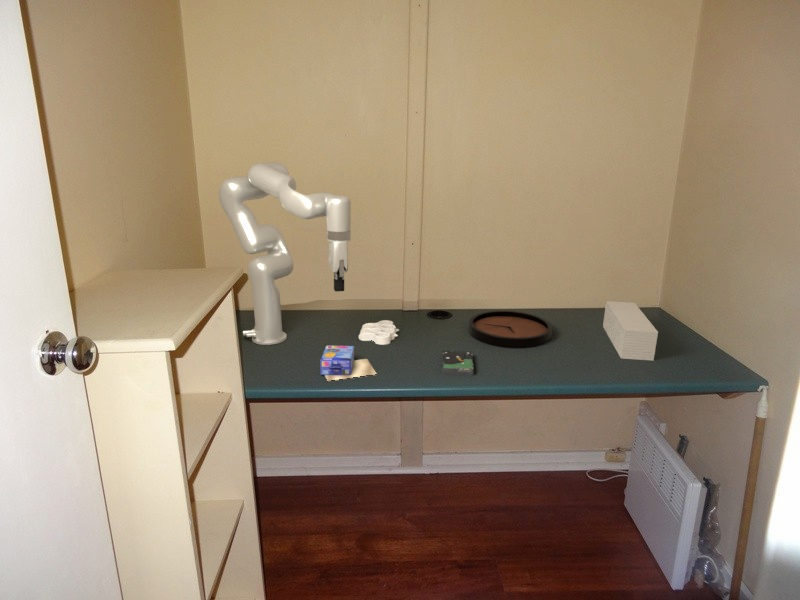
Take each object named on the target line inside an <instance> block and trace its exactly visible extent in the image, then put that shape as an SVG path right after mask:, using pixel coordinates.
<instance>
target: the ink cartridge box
mask: <svg viewBox="0 0 800 600" xmlns="http://www.w3.org/2000/svg"><path fill="white" fill-rule="evenodd" d="M323 350H324V351H323V352H322V356H321V358H320V361H319V363H320V364H319V365H320V375H321V376H325V375H351V370H352V366H353V362H354V360H355V346H354V345H326V346H325V349H323Z"/></svg>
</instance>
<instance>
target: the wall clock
mask: <svg viewBox="0 0 800 600" xmlns="http://www.w3.org/2000/svg"><path fill="white" fill-rule="evenodd" d="M552 331H553V327H552V324H551V323H550V322H549V321H548V320H546V319H545V318H543V317H541V316H538V315H535V314H531V313H529V312H528V313H527V312H523V311H517V310H516V311H515V310H490V311H483V312H480V313H477V314H475V315H472V316H471V317H470V318H469V321H468V334H469V335H470V336H471V337H472V338H473V339H474V340H475V341H478V342H480V343H483V344H485V345H490V346H494V347H498V348H504V349H530V348H531V349H533V348H537V347H541V346H544V345H546V344H547V343H549V342H550V341H551V339H552V333H553V332H552Z"/></svg>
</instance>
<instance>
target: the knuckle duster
mask: <svg viewBox="0 0 800 600" xmlns="http://www.w3.org/2000/svg"><path fill="white" fill-rule="evenodd" d="M399 331H400V329H399V328H397V327H396V325H395V324H394V321H392V320H389V319H388V320H387V319H386V320H385V319H383V320H380V321H378V322H368V323H364V324H362V327H361V329H360V332H359V334H358V339H359V340H360V341H363V342H370V341H371V340H372V341H371V342H373V341H374V342H375V343H374V342H373V343H374V344H376V345H383V346H385V345H389V344H391V341H394V340H395V339H396V338H397V337H399V335H398V334H397V332H399Z"/></svg>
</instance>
